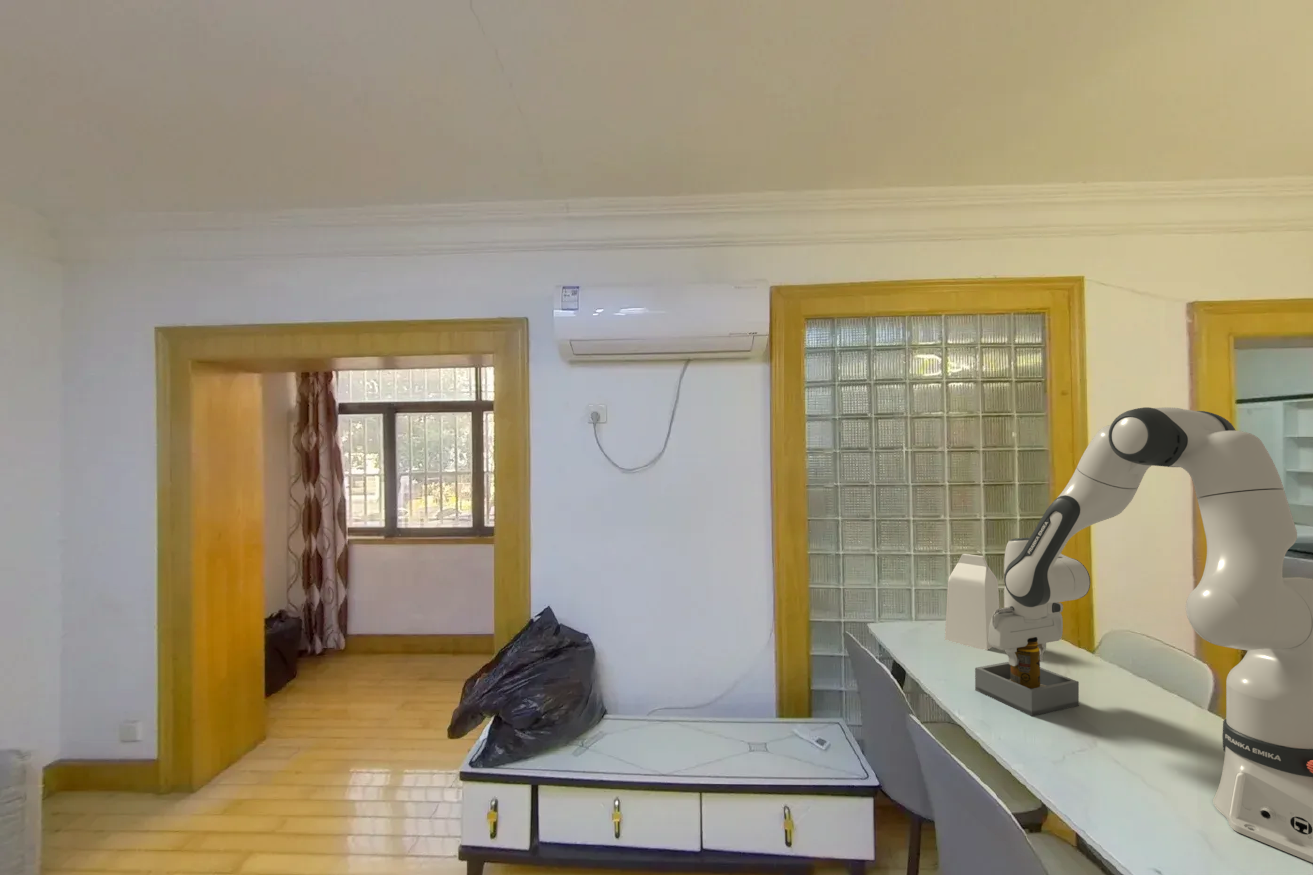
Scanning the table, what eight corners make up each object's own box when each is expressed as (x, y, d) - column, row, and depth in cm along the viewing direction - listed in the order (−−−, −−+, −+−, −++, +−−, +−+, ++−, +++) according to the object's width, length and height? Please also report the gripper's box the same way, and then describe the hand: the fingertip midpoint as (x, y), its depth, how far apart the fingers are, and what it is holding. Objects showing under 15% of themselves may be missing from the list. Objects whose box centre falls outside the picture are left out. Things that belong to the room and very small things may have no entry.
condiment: (1048, 686, 146) (1047, 635, 146) (1030, 695, 141) (1029, 642, 141) (1016, 677, 152) (1015, 628, 152) (997, 685, 147) (996, 634, 147)
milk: (944, 640, 188) (944, 555, 188) (960, 632, 196) (960, 550, 196) (986, 650, 179) (986, 560, 179) (1001, 641, 187) (1001, 555, 187)
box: (1078, 705, 143) (1078, 681, 143) (1031, 716, 137) (1031, 691, 137) (1019, 681, 157) (1019, 659, 157) (975, 690, 151) (975, 667, 151)
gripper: (1004, 613, 140) (1004, 673, 140) (1068, 604, 147) (1068, 661, 148) (981, 605, 146) (981, 664, 146) (1043, 597, 153) (1043, 653, 153)
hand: (1025, 663), depth 147 cm, fingers closed on condiment, 6 cm apart
